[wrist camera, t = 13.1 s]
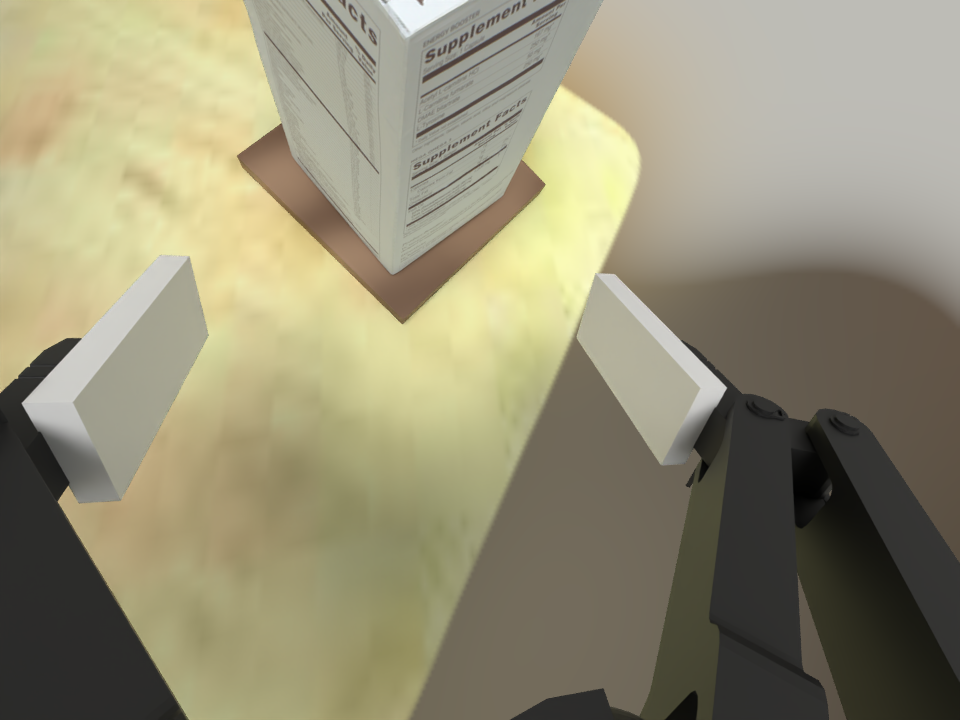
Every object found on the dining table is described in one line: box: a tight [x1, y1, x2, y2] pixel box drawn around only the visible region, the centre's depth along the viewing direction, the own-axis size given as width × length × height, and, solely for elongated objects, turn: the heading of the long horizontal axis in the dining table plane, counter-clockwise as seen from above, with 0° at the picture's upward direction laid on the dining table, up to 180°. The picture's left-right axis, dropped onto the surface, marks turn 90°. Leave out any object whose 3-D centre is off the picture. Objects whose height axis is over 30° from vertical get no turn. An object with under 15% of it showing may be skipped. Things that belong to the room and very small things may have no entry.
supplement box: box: [243, 0, 603, 275], centre depth 19 cm, size 10×9×17 cm
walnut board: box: [237, 123, 546, 324], centre depth 28 cm, size 13×13×1 cm
